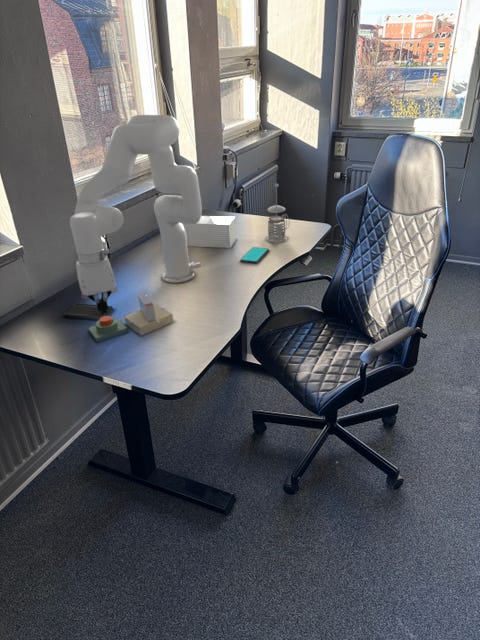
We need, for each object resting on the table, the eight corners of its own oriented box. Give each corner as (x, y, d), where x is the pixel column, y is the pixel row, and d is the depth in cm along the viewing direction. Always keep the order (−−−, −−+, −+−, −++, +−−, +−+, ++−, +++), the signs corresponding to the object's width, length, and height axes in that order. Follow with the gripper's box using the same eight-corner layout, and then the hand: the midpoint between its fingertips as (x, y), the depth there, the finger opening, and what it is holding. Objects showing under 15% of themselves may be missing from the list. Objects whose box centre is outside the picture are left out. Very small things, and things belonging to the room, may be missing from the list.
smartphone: (268, 248, 200) (256, 261, 188) (268, 250, 200) (256, 263, 188) (252, 246, 202) (239, 259, 190) (253, 248, 203) (240, 261, 191)
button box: (118, 321, 152) (117, 312, 150) (127, 332, 146) (126, 322, 144) (88, 331, 147) (86, 322, 145) (96, 342, 141) (94, 332, 140)
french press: (275, 233, 218) (275, 179, 206) (294, 238, 211) (295, 183, 199) (261, 239, 212) (260, 184, 200) (281, 245, 205) (281, 188, 193)
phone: (74, 303, 162) (113, 306, 159) (75, 306, 163) (114, 309, 159) (62, 314, 155) (103, 317, 152) (63, 317, 156) (103, 320, 153)
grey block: (140, 310, 152) (137, 294, 149) (148, 308, 153) (145, 292, 150) (148, 322, 145) (145, 306, 142) (156, 320, 145) (153, 303, 143)
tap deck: (155, 309, 158) (154, 301, 157) (177, 323, 149) (176, 314, 148) (121, 323, 151) (119, 314, 149) (142, 338, 142) (140, 329, 140)
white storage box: (236, 239, 214) (235, 216, 208) (230, 248, 205) (228, 224, 199) (171, 236, 221) (168, 214, 216) (163, 244, 212) (160, 222, 207)
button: (110, 319, 147) (109, 314, 146) (113, 323, 144) (112, 319, 144) (99, 322, 145) (97, 317, 145) (102, 327, 143) (101, 322, 142)
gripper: (114, 247, 139) (124, 301, 148) (63, 257, 134) (76, 312, 143) (120, 255, 133) (130, 311, 142) (66, 266, 128) (80, 323, 137)
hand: (103, 311), depth 143 cm, fingers closed
